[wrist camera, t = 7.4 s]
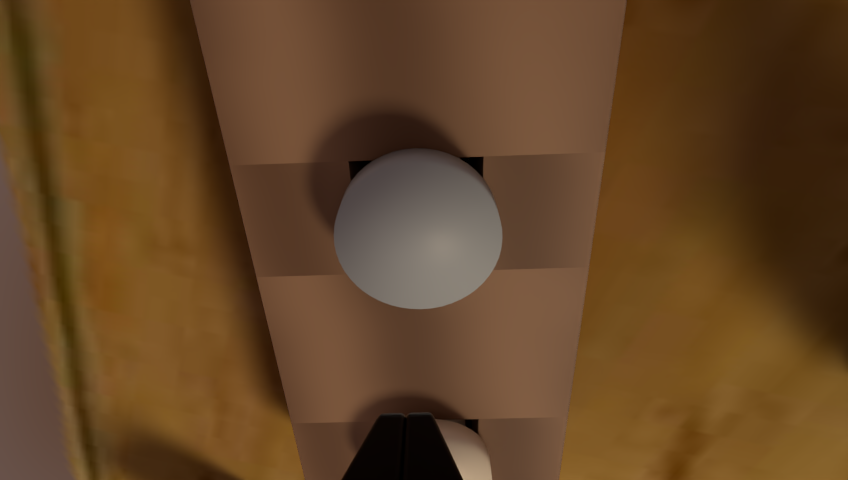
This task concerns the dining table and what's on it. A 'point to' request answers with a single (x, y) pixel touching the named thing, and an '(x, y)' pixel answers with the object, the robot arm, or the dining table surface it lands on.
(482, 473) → the cream peg
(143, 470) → the dining table surface
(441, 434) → the robot arm
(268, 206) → the walnut block
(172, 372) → the dining table surface
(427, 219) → the grey peg
